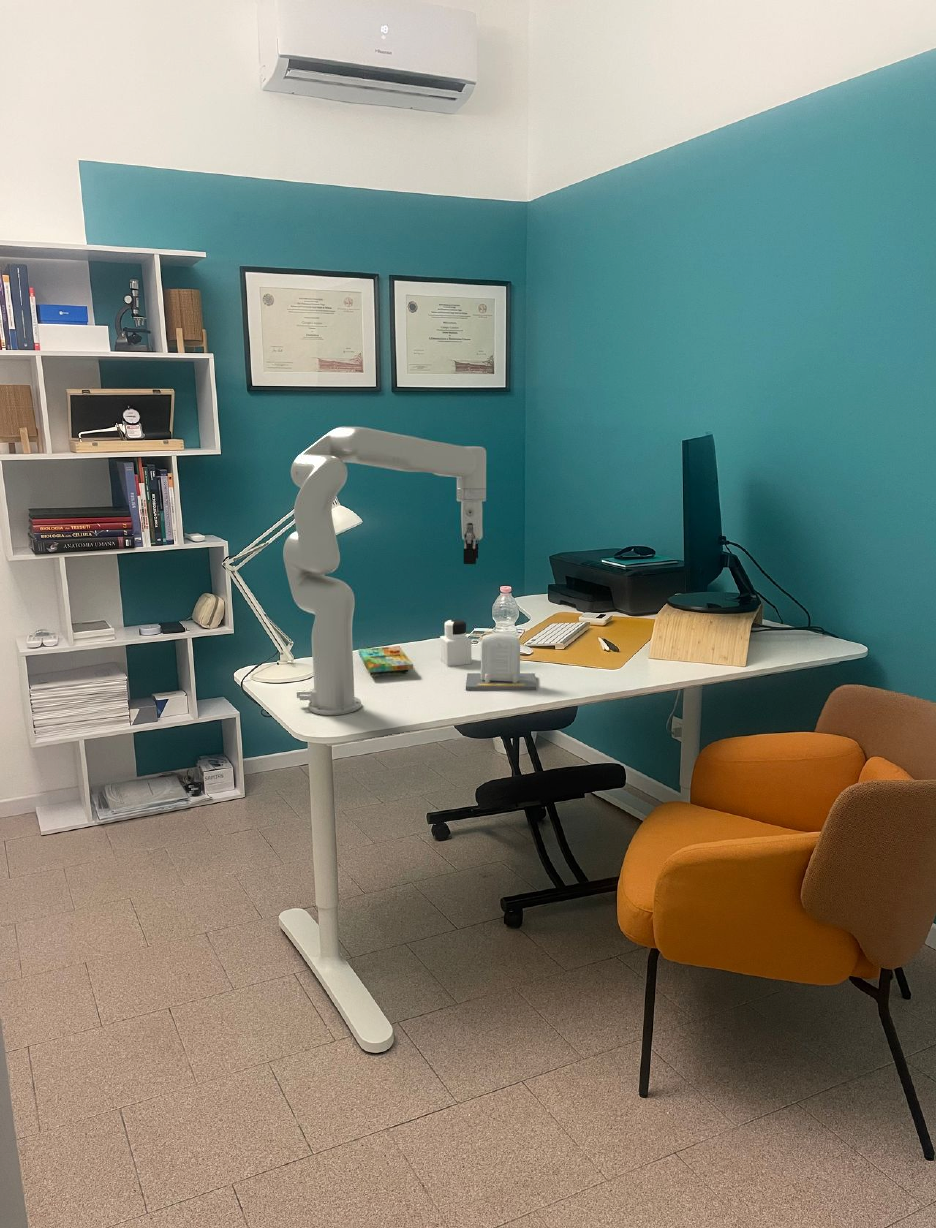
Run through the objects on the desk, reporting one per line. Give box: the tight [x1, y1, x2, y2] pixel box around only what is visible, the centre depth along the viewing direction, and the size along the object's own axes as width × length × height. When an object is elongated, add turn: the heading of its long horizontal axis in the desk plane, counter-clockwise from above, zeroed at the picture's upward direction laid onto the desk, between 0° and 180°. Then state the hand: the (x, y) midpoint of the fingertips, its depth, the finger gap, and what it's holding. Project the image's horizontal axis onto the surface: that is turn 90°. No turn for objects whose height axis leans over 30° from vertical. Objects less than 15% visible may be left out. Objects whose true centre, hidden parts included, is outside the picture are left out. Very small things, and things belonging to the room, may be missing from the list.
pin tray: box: [465, 672, 538, 691], centre depth 244 cm, size 18×12×4 cm, turn 88°
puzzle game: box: [358, 645, 414, 677], centre depth 259 cm, size 12×5×20 cm
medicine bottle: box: [439, 619, 473, 667], centre depth 264 cm, size 7×7×12 cm
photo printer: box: [480, 632, 521, 682], centre depth 243 cm, size 10×4×12 cm, turn 81°
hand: (471, 561), depth 245 cm, fingers open, 9 cm apart
